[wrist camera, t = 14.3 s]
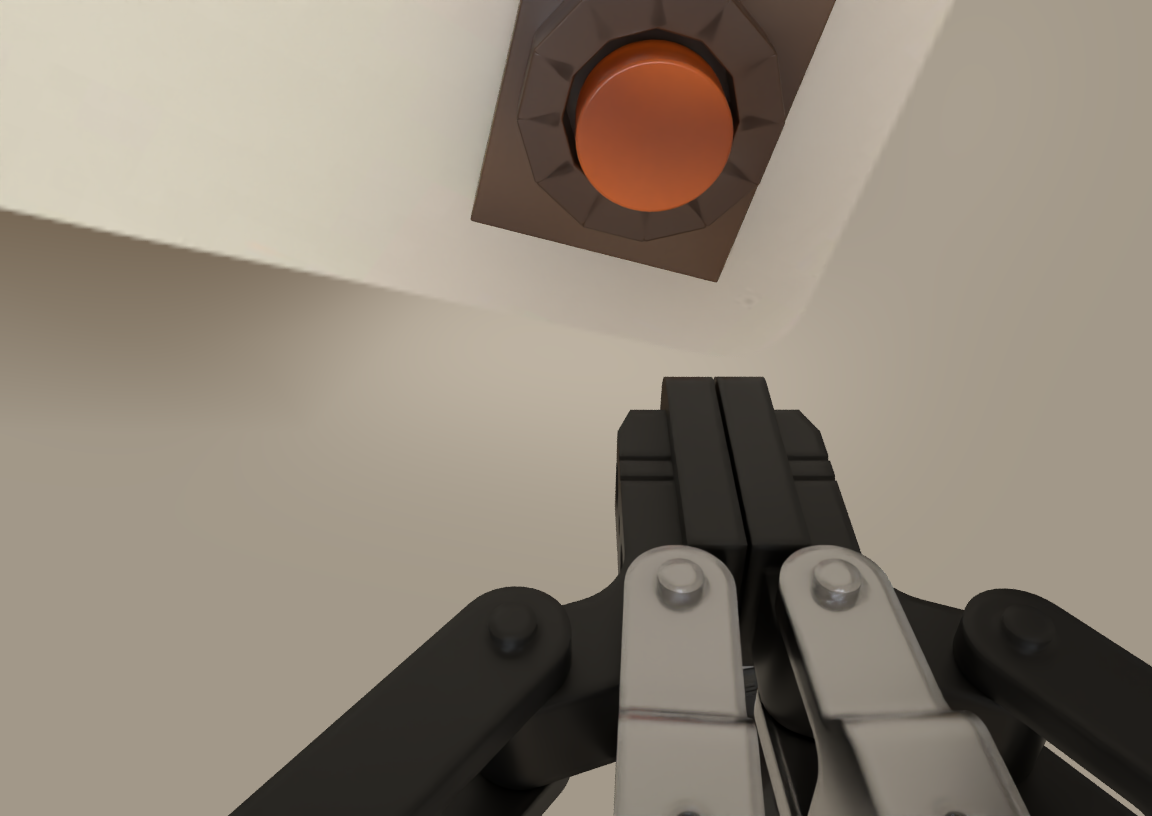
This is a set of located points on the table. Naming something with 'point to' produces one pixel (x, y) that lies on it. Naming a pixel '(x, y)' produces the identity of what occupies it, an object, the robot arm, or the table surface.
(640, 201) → the button
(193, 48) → the table surface
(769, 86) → the button block
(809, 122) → the table surface
